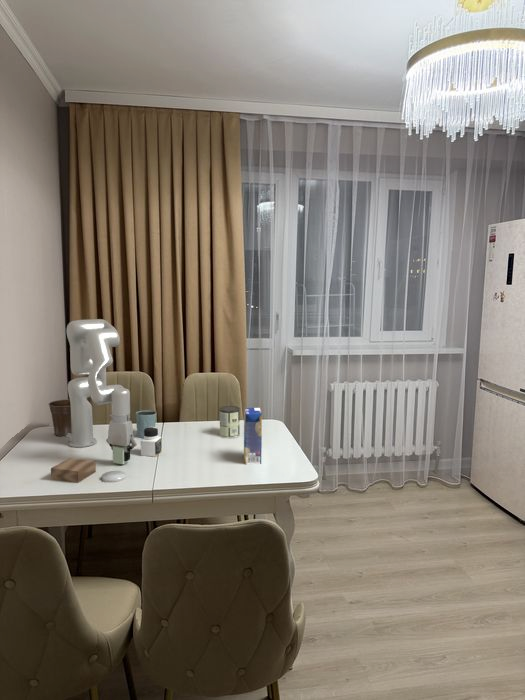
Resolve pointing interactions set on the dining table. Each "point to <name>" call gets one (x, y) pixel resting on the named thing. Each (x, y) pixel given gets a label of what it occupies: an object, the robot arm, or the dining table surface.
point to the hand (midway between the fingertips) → (121, 458)
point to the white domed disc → (113, 476)
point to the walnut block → (73, 470)
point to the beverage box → (252, 435)
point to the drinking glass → (144, 421)
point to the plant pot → (61, 416)
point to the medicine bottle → (151, 442)
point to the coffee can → (229, 421)
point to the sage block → (119, 454)
